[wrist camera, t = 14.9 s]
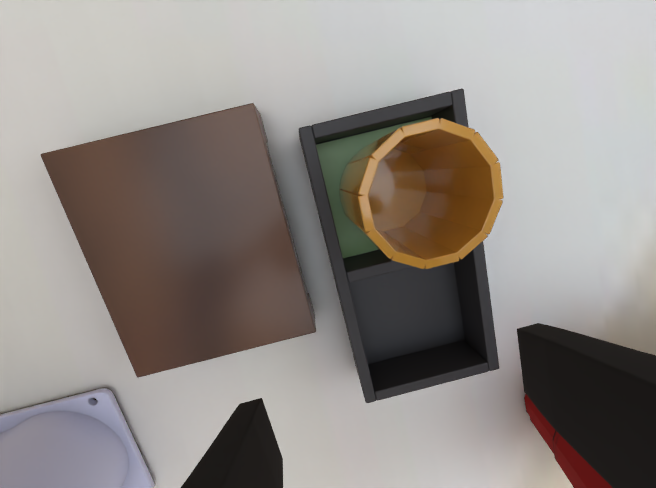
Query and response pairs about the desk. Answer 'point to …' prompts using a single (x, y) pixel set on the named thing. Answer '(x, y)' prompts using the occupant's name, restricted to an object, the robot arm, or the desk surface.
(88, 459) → the robot arm
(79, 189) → the brown flat block
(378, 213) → the cup
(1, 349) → the desk surface
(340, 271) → the tray
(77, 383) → the desk surface
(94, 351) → the desk surface
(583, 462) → the plastic cup
